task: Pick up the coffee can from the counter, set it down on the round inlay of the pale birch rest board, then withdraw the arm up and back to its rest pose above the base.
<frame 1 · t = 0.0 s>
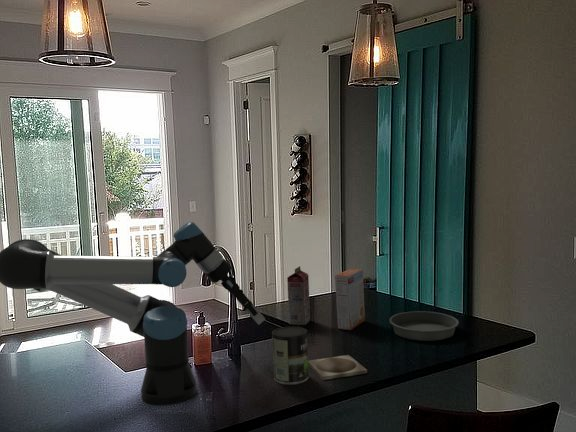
hand: (256, 316, 172), 15 cm above the worktop, tool tilted 35°, fingers open, 13 cm apart
juice carton: (299, 322, 218), on the worktop
coffee can: (291, 378, 161), on the worktop
cracker box: (351, 325, 211), on the worktop
cake pan: (423, 332, 200), on the worktop
rest board: (336, 368, 167), on the worktop
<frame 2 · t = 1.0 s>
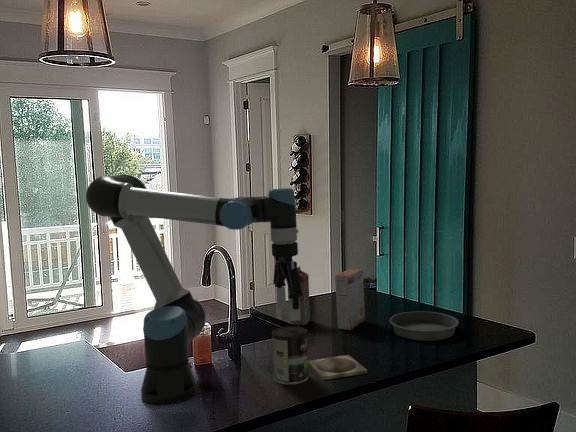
hand: (288, 314, 160), 19 cm above the worktop, tool pointing down, fingers open, 13 cm apart
nothing on the worktop moved.
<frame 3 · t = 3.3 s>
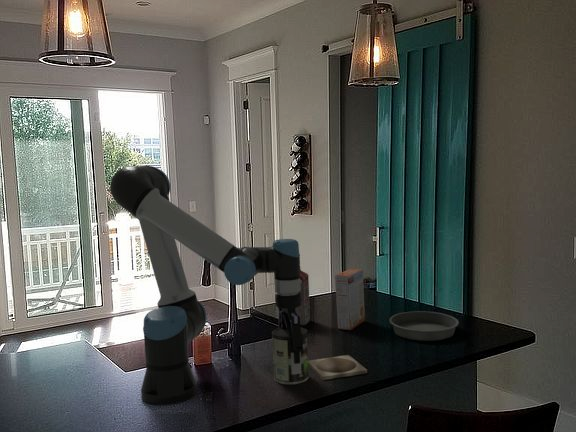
hand: (290, 367, 161), 3 cm above the worktop, tool pointing down, fingers closed on coffee can, 10 cm apart
coffee can: (291, 378, 161), on the worktop, touching gripper
everything else where it was.
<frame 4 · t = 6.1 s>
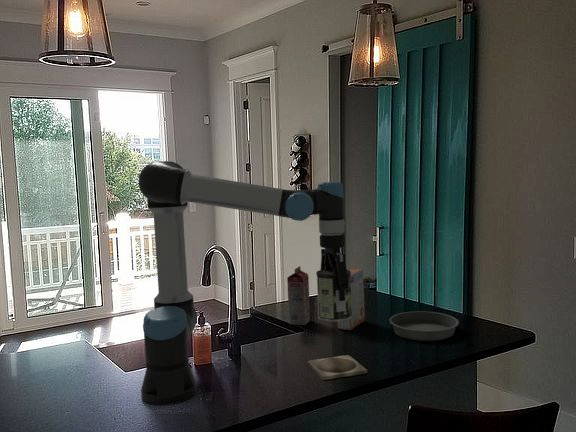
hand: (334, 306, 165), 19 cm above the worktop, tool pointing down, fingers closed on coffee can, 10 cm apart
coffee can: (334, 318, 166), point 16 cm above the worktop, touching gripper
everything else where it was.
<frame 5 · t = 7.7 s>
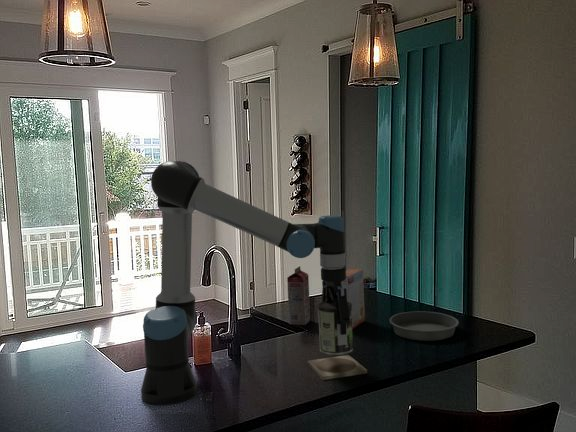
hand: (335, 339, 166), 9 cm above the worktop, tool pointing down, fingers closed on coffee can, 10 cm apart
coffee can: (336, 350, 167), point 6 cm above the worktop, touching gripper
everything else where it was.
when the fingers open (5 cm above the worktop, at t = 9.1 s): coffee can stays where it is, resting on rest board.
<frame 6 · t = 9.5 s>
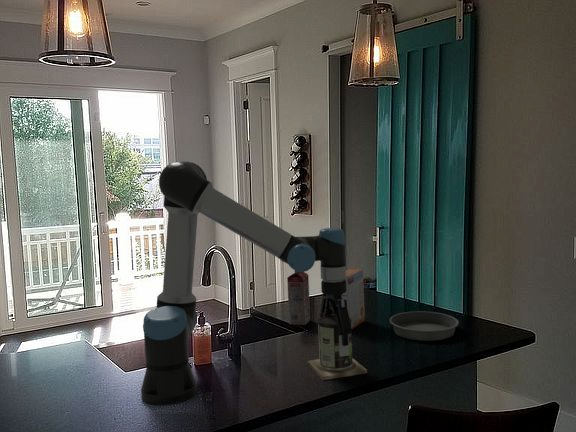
hand: (335, 348, 166), 6 cm above the worktop, tool pointing down, fingers open, 13 cm apart
coffee can: (335, 365, 167), point 1 cm above the worktop, touching rest board
everything else where it was.
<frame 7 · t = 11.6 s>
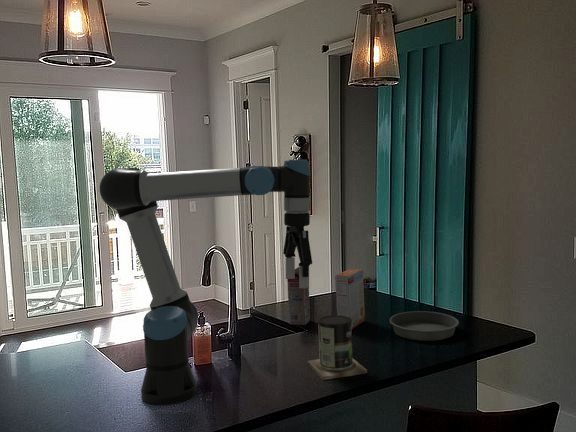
hand: (296, 283, 163), 27 cm above the worktop, tool pointing down, fingers open, 13 cm apart
nothing on the worktop moved.
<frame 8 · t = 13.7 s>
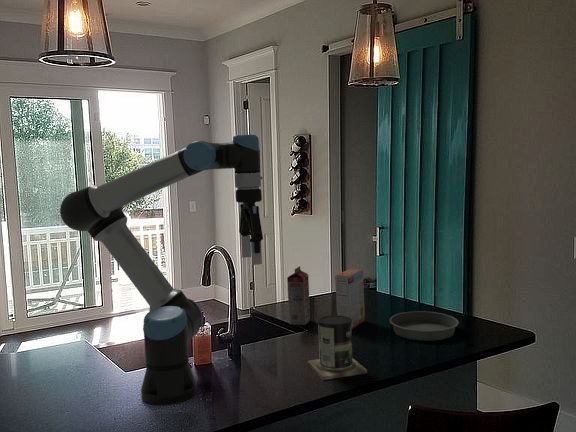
hand: (251, 260, 161), 35 cm above the worktop, tool pointing down, fingers open, 13 cm apart
nothing on the worktop moved.
at the end: coffee can inside the target area on the rest board (0.2 cm from its centre), point 0.9 cm above the rest board's base; coffee can tilted 0°; the gripper is holding nothing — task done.
